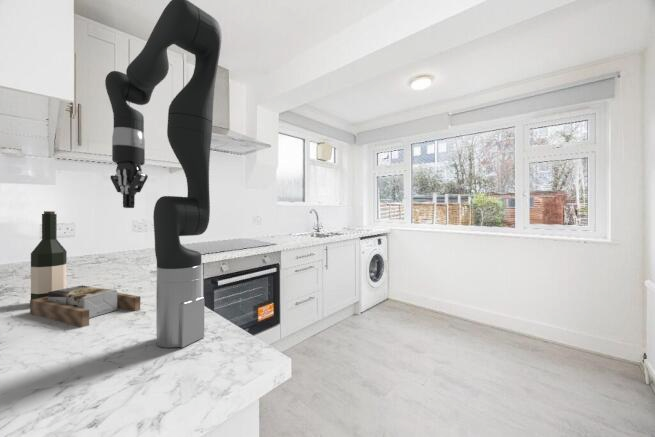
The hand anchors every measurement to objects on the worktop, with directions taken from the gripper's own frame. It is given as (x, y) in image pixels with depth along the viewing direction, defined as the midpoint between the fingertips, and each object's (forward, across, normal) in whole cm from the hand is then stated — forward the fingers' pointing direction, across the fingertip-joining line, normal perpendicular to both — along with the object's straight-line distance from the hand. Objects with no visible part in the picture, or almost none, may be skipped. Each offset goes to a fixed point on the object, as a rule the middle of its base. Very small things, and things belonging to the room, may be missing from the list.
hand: (128, 207), depth 80 cm
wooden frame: (+31, +15, +2) cm, 34 cm away
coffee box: (+28, +8, +2) cm, 29 cm away
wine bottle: (+31, +36, +2) cm, 48 cm away
